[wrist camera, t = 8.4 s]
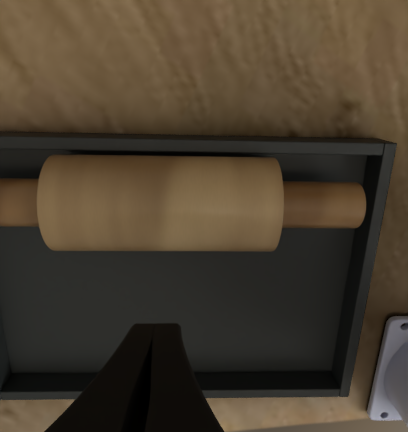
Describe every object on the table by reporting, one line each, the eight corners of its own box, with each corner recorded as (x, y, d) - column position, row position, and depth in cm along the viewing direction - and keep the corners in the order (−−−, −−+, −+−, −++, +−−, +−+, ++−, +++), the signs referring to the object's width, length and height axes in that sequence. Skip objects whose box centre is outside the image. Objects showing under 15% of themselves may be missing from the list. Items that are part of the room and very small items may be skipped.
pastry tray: (377, 138, 19) (397, 143, 17) (336, 373, 24) (348, 397, 22) (-41, 130, 18) (-67, 134, 16) (6, 376, 23) (-10, 400, 21)
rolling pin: (371, 266, 16) (333, 235, 20) (386, 163, 14) (341, 154, 19) (-57, 265, 15) (-2, 233, 19) (-76, 158, 14) (-13, 149, 18)
